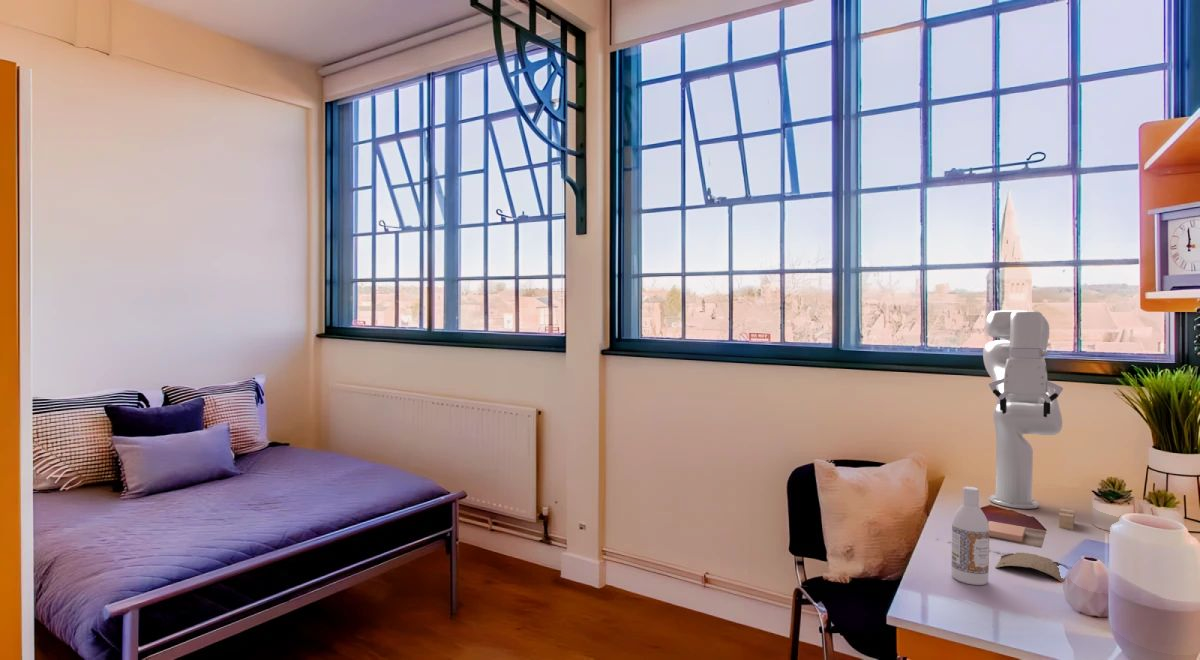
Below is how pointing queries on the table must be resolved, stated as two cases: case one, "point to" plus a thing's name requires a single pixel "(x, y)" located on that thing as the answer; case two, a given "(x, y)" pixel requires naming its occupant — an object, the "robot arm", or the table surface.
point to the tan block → (1066, 519)
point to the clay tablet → (1031, 563)
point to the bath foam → (970, 541)
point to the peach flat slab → (1006, 531)
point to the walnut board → (1029, 537)
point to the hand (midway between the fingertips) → (1024, 414)
